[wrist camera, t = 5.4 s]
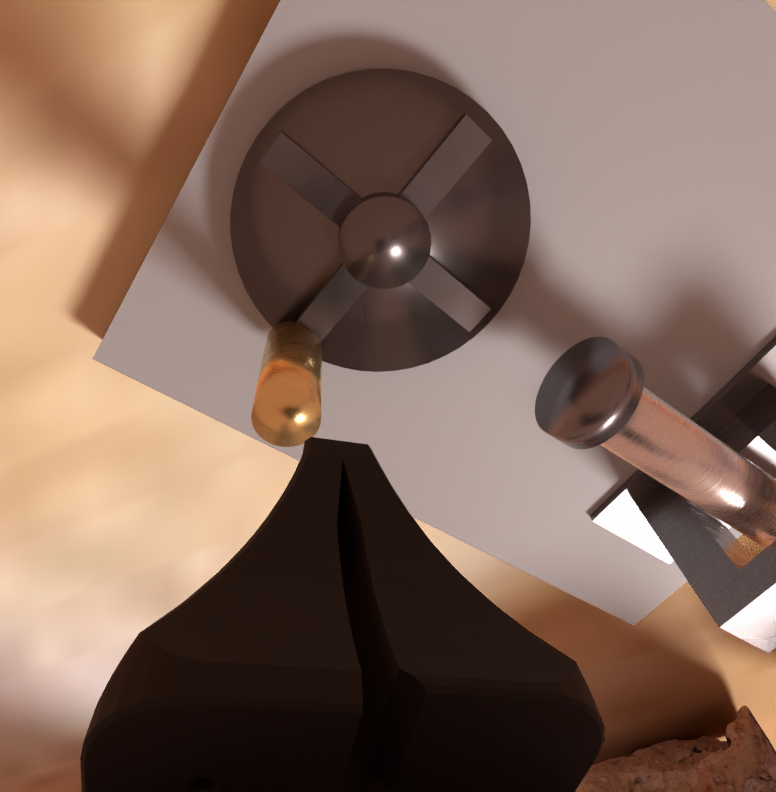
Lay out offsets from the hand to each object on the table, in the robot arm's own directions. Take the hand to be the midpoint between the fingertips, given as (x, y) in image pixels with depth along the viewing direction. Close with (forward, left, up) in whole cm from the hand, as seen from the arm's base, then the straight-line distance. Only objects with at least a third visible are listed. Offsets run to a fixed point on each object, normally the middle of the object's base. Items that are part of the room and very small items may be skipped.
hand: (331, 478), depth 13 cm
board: (-5, +6, -8) cm, 11 cm away
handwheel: (-3, -1, -7) cm, 7 cm away
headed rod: (-4, +12, -5) cm, 14 cm away
